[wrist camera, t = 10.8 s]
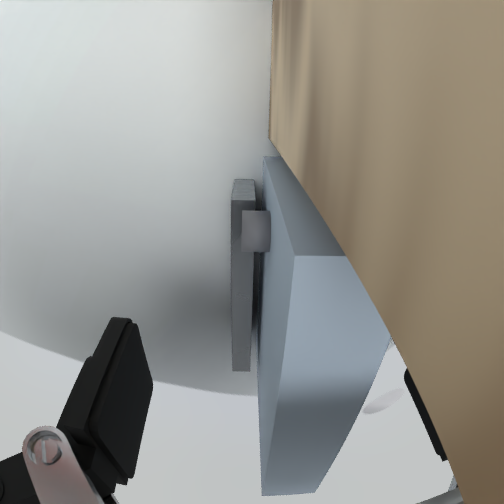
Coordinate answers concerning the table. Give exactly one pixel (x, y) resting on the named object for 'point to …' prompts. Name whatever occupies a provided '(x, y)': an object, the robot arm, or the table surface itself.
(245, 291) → the hinge clips
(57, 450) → the robot arm
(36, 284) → the table surface
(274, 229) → the door panel
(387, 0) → the cabinet
